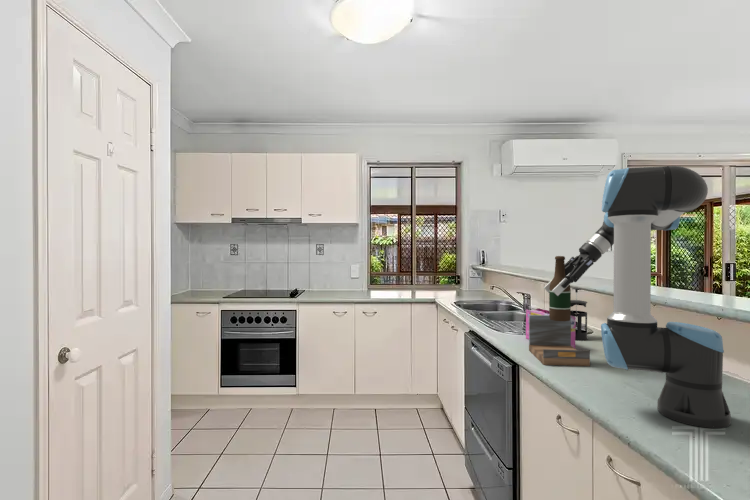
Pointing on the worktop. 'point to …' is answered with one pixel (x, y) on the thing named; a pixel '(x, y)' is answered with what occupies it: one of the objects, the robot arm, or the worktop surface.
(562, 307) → the beer bottle
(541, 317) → the shelf
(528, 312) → the gum box
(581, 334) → the french press
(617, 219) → the robot arm
